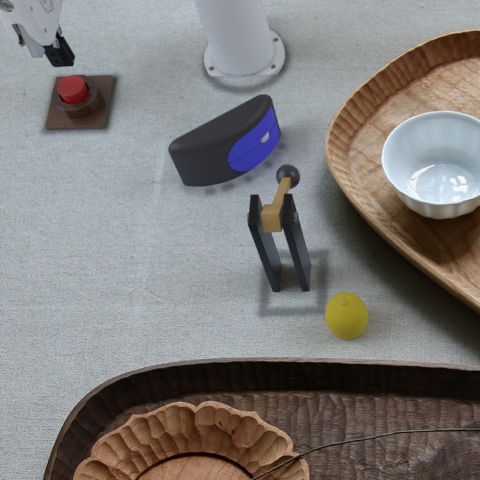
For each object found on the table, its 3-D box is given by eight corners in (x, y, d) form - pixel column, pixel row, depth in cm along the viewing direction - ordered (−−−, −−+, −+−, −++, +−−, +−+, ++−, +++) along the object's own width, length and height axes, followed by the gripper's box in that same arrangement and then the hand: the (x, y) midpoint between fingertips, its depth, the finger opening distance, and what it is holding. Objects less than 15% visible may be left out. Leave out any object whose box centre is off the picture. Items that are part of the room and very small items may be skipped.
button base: (58, 79, 127) (51, 67, 125) (114, 78, 127) (108, 66, 124) (46, 130, 123) (39, 118, 121) (104, 129, 123) (98, 117, 121)
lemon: (340, 356, 106) (333, 327, 99) (322, 323, 108) (314, 293, 101) (378, 338, 107) (373, 308, 100) (359, 305, 109) (353, 274, 102)
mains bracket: (267, 255, 113) (239, 178, 97) (324, 254, 113) (305, 177, 97) (262, 312, 109) (233, 242, 94) (321, 311, 109) (301, 240, 94)
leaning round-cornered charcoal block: (197, 206, 117) (178, 163, 108) (182, 185, 118) (162, 141, 109) (294, 153, 119) (282, 107, 111) (278, 133, 121) (266, 86, 112)
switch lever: (279, 183, 110) (276, 160, 108) (302, 183, 110) (300, 160, 108) (259, 235, 97) (255, 210, 95) (286, 235, 97) (282, 210, 95)
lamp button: (64, 84, 124) (59, 75, 122) (90, 83, 124) (85, 74, 122) (60, 104, 122) (55, 96, 121) (86, 103, 122) (81, 95, 121)
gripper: (13, -7, 98) (81, 101, 115) (35, -94, 103) (97, 22, 120) (-46, -3, 98) (30, 104, 115) (-21, -90, 104) (48, 25, 121)
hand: (64, 62), depth 118 cm, fingers closed
